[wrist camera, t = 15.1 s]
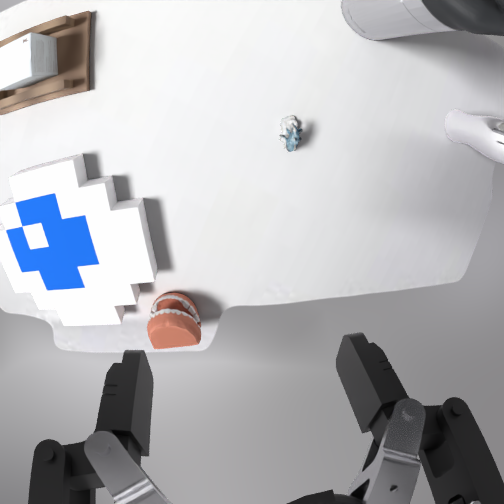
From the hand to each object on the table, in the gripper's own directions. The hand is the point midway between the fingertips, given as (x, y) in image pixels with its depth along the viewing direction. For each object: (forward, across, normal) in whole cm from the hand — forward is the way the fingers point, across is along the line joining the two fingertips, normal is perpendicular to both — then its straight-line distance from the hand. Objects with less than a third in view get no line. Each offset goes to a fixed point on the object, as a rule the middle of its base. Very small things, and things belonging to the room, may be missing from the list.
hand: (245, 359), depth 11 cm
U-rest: (+33, +25, -18) cm, 45 cm away
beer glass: (+33, -41, -9) cm, 53 cm away
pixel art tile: (+34, +24, +12) cm, 43 cm away
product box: (+32, +25, -18) cm, 44 cm away
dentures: (+33, +8, +24) cm, 42 cm away
